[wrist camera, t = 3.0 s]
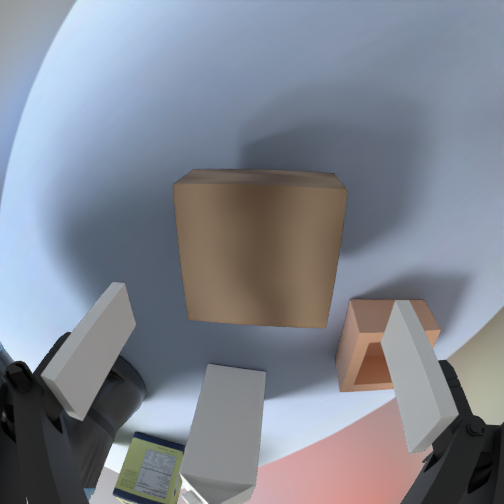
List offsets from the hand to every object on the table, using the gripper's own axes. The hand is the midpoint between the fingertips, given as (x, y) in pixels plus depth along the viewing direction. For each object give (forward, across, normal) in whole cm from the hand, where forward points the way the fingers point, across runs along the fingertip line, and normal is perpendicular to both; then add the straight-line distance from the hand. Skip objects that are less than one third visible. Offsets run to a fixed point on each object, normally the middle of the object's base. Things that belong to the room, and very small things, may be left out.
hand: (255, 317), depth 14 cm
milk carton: (+13, +4, +22) cm, 26 cm away
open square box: (+13, -12, +12) cm, 22 cm away
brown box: (+10, 0, 0) cm, 10 cm away
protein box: (+12, +20, +52) cm, 57 cm away
